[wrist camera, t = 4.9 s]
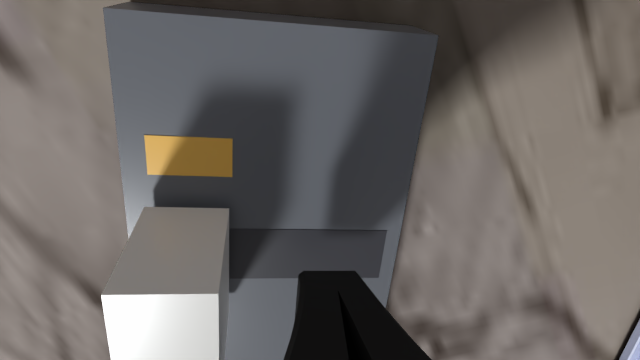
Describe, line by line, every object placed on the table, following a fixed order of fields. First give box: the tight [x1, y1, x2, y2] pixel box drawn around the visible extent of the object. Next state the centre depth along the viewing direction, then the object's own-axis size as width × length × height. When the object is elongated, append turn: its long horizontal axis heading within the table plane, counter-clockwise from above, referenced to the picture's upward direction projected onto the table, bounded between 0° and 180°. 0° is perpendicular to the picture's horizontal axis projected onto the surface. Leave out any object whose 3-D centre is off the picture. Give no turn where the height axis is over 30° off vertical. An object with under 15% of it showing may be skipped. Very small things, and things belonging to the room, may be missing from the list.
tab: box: [101, 207, 229, 360], centre depth 10 cm, size 2×3×3 cm, turn 175°
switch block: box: [103, 2, 439, 360], centre depth 15 cm, size 7×22×2 cm, turn 175°
